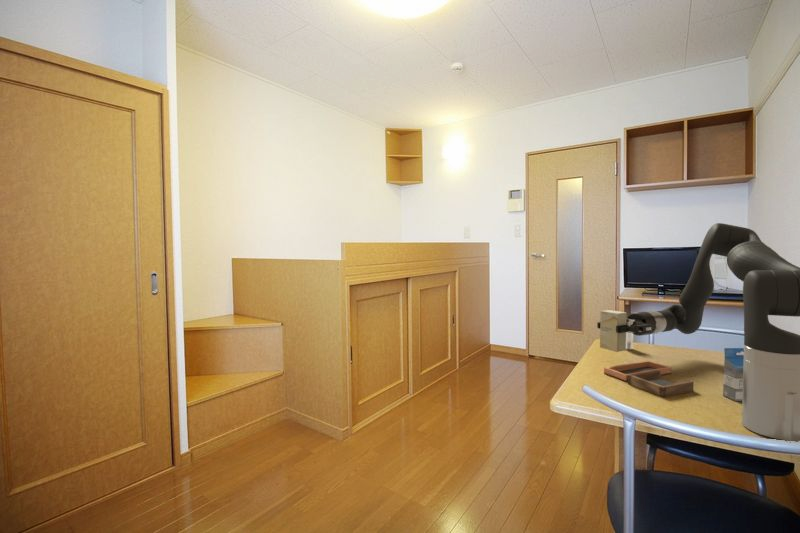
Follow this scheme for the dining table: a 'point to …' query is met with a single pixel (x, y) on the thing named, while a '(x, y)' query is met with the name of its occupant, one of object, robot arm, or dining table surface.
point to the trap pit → (635, 369)
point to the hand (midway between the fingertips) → (607, 327)
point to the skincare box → (612, 330)
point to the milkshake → (629, 341)
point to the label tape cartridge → (733, 374)
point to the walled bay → (659, 384)
